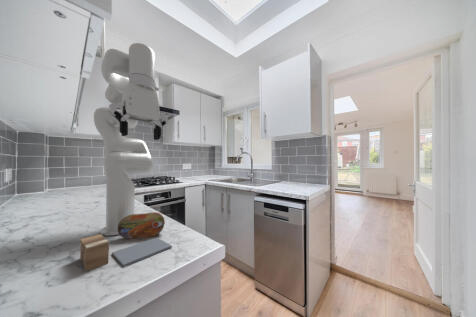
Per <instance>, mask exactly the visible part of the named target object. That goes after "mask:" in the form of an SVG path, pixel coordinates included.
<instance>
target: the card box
mask: <svg viewBox="0 0 476 317" xmlns="http://www.w3.org/2000/svg"><path fill="white" fill-rule="evenodd" d="M109 243H110V242H109V240H108V239H106V238H105V237H104V235H102V234H101V233H99V234H96V235H92V236H87V237H84V238H80V248H79V249H80V250H79V252H80V255H79V257H80V258H79V259H80V262H81V264H82V266H83V268H84V270H85V272H88V271H90V270H91V271H92V270H94V269H96V268H99V267H101V266H105V265H107V264H109V247H110V244H109Z"/></svg>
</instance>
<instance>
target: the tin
mask: <svg viewBox="0 0 476 317" xmlns="http://www.w3.org/2000/svg"><path fill="white" fill-rule="evenodd" d="M165 221H166V220H165V218H164V216H163V215H162V214H161V213H160V212H157V211H155V212H143V213H142V212H141V213H134V214H131V215H128V216H126V217H124V218H123V219H122V220H121V221H120V223H119V225H118V233H119V235H118V236H120V237H121V238H123V239H125V240H133V239H136V240H137V239H142V238H143V239H144V238H151V237H155V236H158V235H159V234H160V233H161V232H162V231H163V230H164V227H165V224H166V222H165Z"/></svg>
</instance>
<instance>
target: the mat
mask: <svg viewBox="0 0 476 317" xmlns="http://www.w3.org/2000/svg"><path fill="white" fill-rule="evenodd" d="M169 249H172V244H169V243H167V242H166V241H164V240H162V239H161V238H158V237H154V238H151V239H148V240H146V241H142V242H139V243H136V244H133V245H130V246H127V247H124V248H121V249H117V250H115V251H112V252H111V256H113V258H114V259H115V260H116V261H117V262H118V263H119V264H120V265H121V266H122V268H125V267H128V266H130V265H133V264H134V263H137V262H140V261H143V260H145V259H148V258H150V257H152V256H154V255H157V254H159V253H162V252H165V251H167V250H169Z"/></svg>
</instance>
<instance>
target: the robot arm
mask: <svg viewBox="0 0 476 317" xmlns="http://www.w3.org/2000/svg"><path fill="white" fill-rule="evenodd" d="M100 67H101V68H100V70H101V74H102V77H103V79H104V80H105V82H106V83H107V84H108V85H107V88H106V90H105V92H104V95H105V99H106V100H107V101H108V102H109V103H110V104H109V105H108V107H104V106H103V107H98V108H96V109H95V111H94V113H93V122H94V123H93V124H94V126H95V128H96V130H97V132H98V133H99V135H100V136H101V137H102V141H103V146H104V149H105V153H106V156H104V160H103V164H104V165H103V166H104V172H105V173H104V174H105V178H106V179H105V180H106V181H105V182H106V191H105V195H106V200H105V202H106V203H105V227H102V229H100V234H101V235H102V236H106V237H107V236H120V235H119V233H118V225H119V223H120V221H121V220H122V219H123V218H124V217H126V216H128V215H131V214H135V196H136V195H135V194H136V193H135V192H136V191H135V188H136V186H135V183H134V182H133V180H131V178H130V177H129V176H133V175H136V176H137V175H147V174H150V173H151V172H152V171H153V170H154V161H153V160H154V159H153V157H152V154H151V153H150V150H149V147H148V145H147V143H146V142H145V141H144V140H142V139H140V138H130V137H126V136H128V135H129V134H128V133H129V129H134V128H136V127H137V125H138V122H142V123H146V124H147V123H149V124H152V125H153V127H154V128H153V140H154V141H157V140H158V141H159V140H160V139H161V137H162V136H161V135H162V128H163V127H164V126H165V125H166V124H167V122H168V120H169V117H168V116H167V115H166V114H164V113H163V112H162V111H160V103H159V96H158V92H159V91H160V89H159V87H158V86H157V83H156V55H155V52H154V50H153V49H152V48H151V47H150V46H148V45H146V44H144V43H141V42H134V43H132V44H130V45H129V47H128V53H127V52H124V51H122V50H119V49H116V48H109V49H107V50H106V51H105V53H104V57H103V59H102V62H101V66H100ZM118 108H119V109H118ZM120 108H121V109H120ZM160 119H161V121H160Z"/></svg>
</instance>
